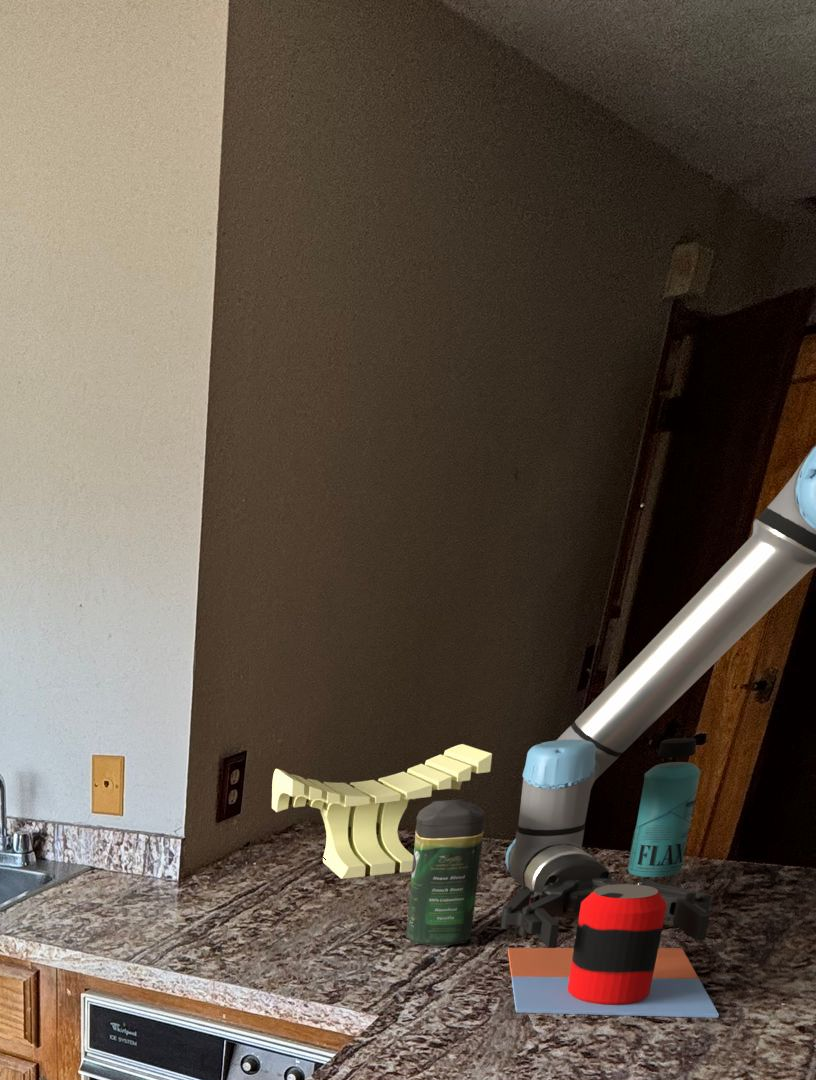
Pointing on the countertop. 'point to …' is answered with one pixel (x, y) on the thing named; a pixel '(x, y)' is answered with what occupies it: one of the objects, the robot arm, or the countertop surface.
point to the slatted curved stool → (374, 809)
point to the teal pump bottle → (665, 812)
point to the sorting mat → (545, 991)
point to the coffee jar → (445, 873)
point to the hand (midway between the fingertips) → (626, 932)
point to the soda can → (616, 944)
